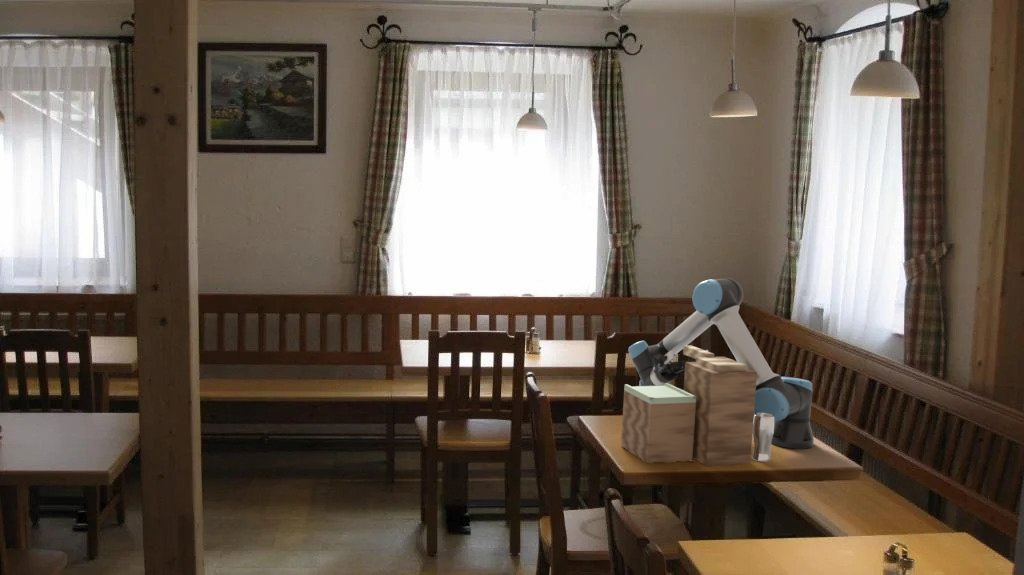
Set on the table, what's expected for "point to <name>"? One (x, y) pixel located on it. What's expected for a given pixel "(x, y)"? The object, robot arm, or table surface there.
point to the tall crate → (722, 414)
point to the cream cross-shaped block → (713, 360)
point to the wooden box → (658, 429)
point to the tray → (660, 394)
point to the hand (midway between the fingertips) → (690, 353)
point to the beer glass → (762, 436)
